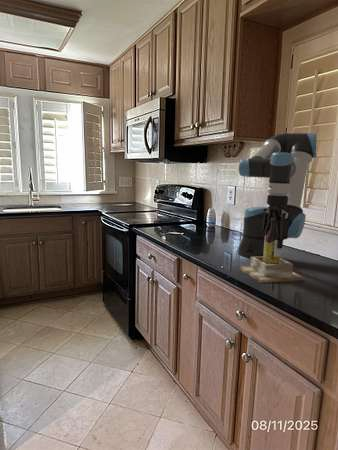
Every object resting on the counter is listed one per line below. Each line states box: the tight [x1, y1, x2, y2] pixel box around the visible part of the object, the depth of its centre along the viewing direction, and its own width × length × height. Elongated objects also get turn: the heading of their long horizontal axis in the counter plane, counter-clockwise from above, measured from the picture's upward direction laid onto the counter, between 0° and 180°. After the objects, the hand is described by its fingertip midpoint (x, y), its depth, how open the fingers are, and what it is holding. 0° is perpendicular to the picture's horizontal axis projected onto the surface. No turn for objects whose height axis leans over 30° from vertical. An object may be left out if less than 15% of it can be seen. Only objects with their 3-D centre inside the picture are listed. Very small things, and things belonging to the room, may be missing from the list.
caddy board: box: [239, 256, 304, 284], centre depth 124 cm, size 16×18×6 cm
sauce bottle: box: [263, 218, 281, 264], centre depth 122 cm, size 7×6×20 cm
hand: (271, 253), depth 123 cm, fingers closed on sauce bottle, 6 cm apart
